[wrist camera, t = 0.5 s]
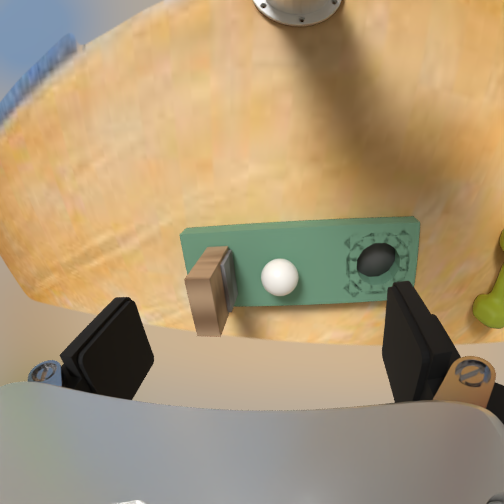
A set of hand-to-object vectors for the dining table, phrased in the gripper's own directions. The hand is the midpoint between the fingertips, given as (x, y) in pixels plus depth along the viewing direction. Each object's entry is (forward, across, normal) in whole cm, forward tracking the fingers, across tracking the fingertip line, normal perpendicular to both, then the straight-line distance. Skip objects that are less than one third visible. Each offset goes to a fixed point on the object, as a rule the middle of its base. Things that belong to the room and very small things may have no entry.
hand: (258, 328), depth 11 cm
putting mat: (+35, -1, +12) cm, 37 cm away
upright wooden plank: (+32, +11, +11) cm, 35 cm away
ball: (+29, +2, +12) cm, 32 cm away
